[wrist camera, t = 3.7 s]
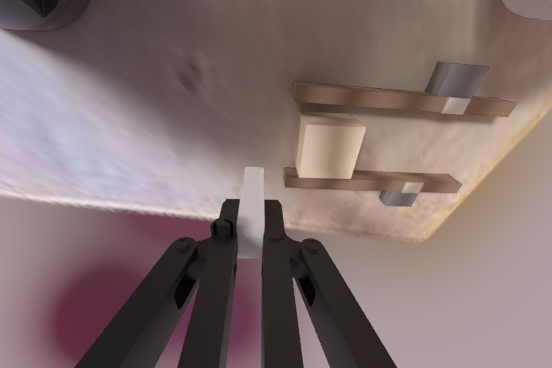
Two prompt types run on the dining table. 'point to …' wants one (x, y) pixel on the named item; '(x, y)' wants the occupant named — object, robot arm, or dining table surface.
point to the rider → (327, 145)
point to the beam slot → (437, 98)
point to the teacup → (530, 8)
